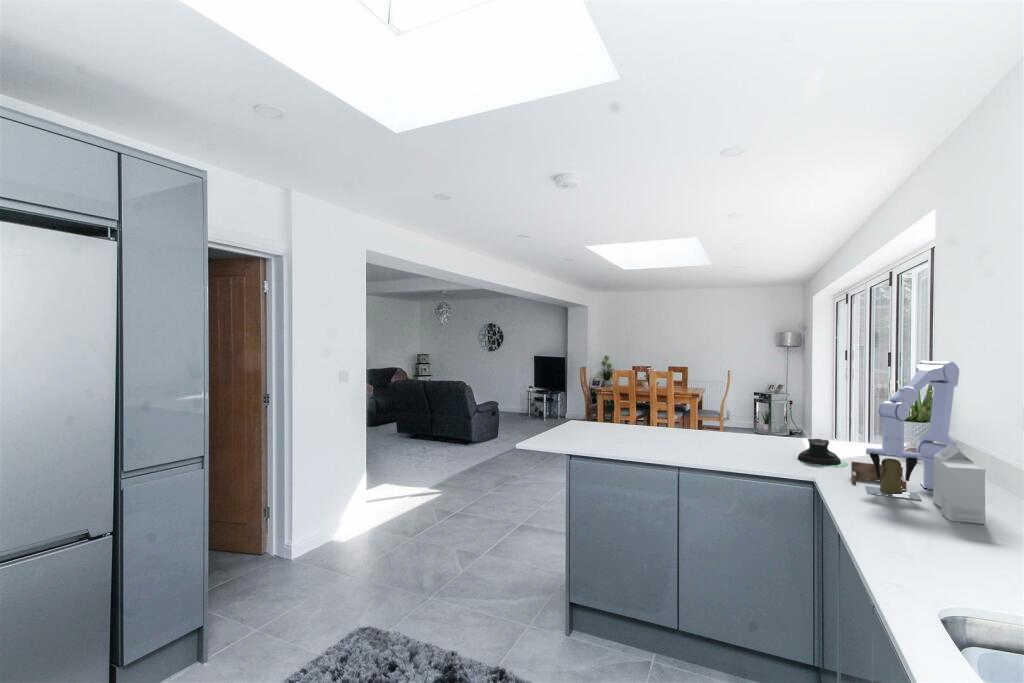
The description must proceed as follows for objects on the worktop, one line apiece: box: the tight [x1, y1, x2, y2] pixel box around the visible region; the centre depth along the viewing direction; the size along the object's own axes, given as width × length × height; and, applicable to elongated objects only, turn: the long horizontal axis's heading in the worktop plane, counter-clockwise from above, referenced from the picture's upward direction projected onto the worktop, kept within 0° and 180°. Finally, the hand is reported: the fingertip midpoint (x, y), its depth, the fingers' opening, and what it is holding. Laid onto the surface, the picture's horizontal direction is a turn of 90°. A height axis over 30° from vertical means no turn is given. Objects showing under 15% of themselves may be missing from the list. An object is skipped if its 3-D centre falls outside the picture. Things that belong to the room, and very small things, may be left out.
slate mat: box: [865, 485, 923, 501], centre depth 165 cm, size 14×9×1 cm, turn 58°
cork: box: [879, 457, 903, 494], centre depth 166 cm, size 6×6×11 cm
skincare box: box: [940, 462, 986, 525], centre depth 141 cm, size 8×7×16 cm
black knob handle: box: [797, 438, 848, 468], centre depth 210 cm, size 20×20×9 cm
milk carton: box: [932, 443, 975, 508], centre depth 151 cm, size 7×7×19 cm
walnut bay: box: [850, 461, 907, 490], centre depth 177 cm, size 15×10×6 cm, turn 58°
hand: (892, 478), depth 165 cm, fingers open, 7 cm apart
